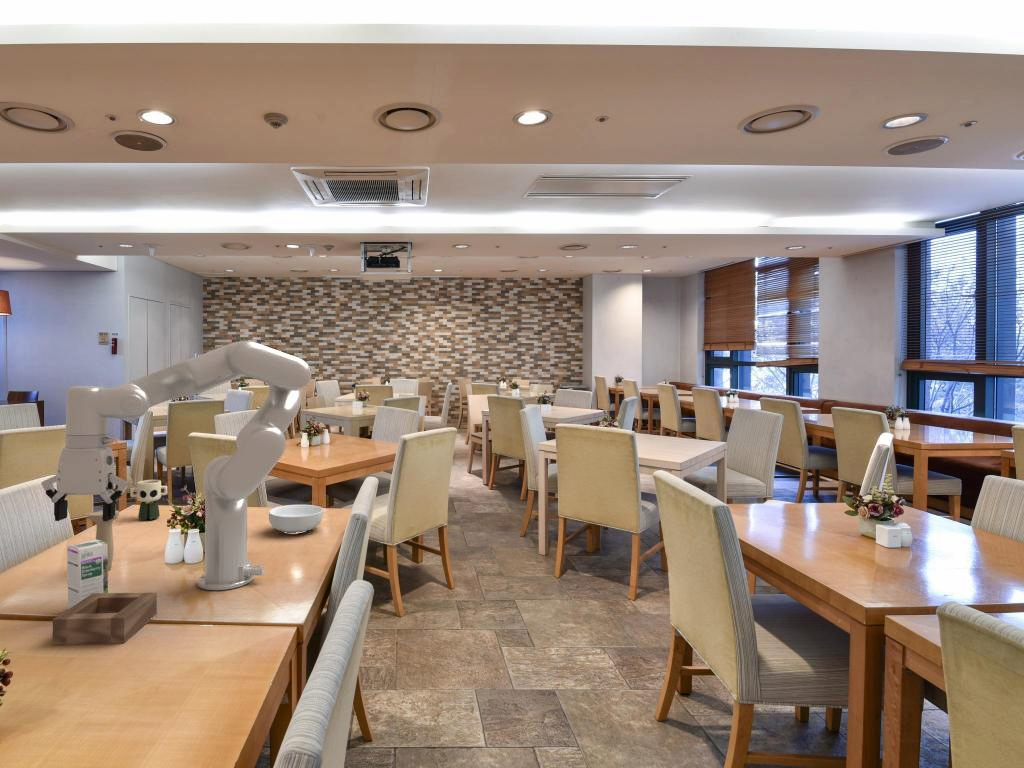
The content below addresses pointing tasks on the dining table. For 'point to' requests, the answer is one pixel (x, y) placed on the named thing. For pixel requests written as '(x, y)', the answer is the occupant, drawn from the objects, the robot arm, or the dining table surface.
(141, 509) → the character mug
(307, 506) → the cereal bowl
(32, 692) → the dining table surface
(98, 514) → the handle
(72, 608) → the socket
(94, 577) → the syrup box
